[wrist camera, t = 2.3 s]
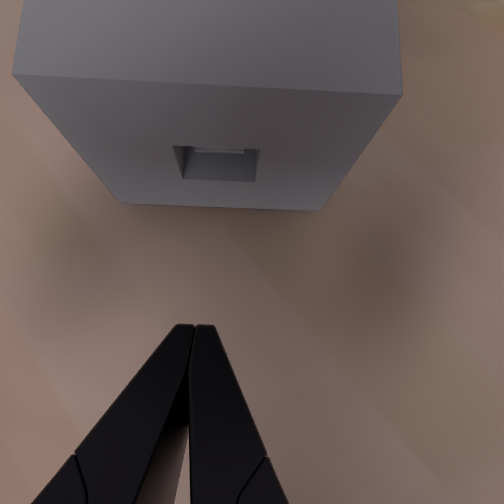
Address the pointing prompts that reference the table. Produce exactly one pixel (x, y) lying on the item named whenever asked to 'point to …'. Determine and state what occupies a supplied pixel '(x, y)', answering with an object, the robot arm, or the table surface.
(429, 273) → the table surface
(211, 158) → the gray concrete brick
